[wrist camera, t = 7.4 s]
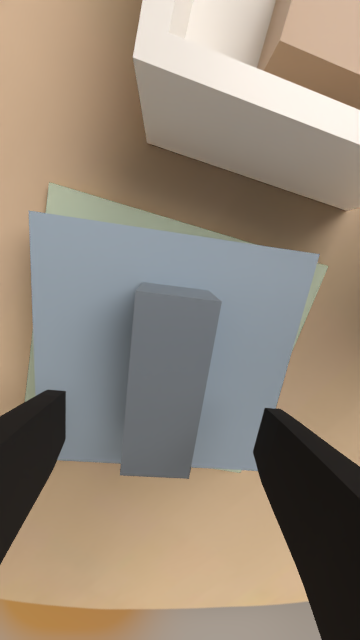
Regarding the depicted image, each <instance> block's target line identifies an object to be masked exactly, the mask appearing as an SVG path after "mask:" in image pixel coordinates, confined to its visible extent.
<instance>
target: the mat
mask: <svg viewBox="0 0 360 640" xmlns="http://www.w3.org/2000/svg"><path fill="white" fill-rule="evenodd" d="M46 213H48V214H55V215H61V216H68V217H75V218H81V219H88V220H95V221H101V222H108V223H115V224H121V225H128V226H135V227H141V228H148V229H155V230H161V231H168V232H175V233H181V234H188V235H195V236H201V237H208V238H215V239H221V240H228V241H235V242H241V243H248V244H253V243H250V242H246V241H243V240H240V239H236V238H233V237H230V236H226V235H223V234H220V233H216V232H213V231H210V230H207V229H203V228H200V227H197V226H193V225H190V224H187V223H183V222H180V221H177V220H173V219H170V218H167V217H163V216H160V215H157V214H153V213H150V212H147V211H143V210H140V209H137V208H133V207H130V206H127V205H123V204H120V203H117V202H114V201H110V200H107V199H104V198H100V197H97V196H94V195H90V194H87V193H84V192H80V191H77V190H74V189H70V188H67V187H64V186H60V185H57V184H54V183H50V182H49V187H48V196H47V205H46ZM255 245H256V244H255ZM327 268H328V266H326V265H323V264H319V263H317V265H316V269H315V272H314V276H313V279H312V283H311V286H310V290H309V293H308V297H307V300H306V304H305V307H304V311H303V314H302V318H301V321H300V325H299V328H298V332H297V335H296V339H295V342H294V346H295V344H296V341H297V339H298V337H299V334H300V332H301V330H302V327H303V325H304V323H305V320H306V318H307V315H308V313H309V311H310V308H311V306H312V304H313V301H314V299H315V297H316V294H317V292H318V290H319V287H320V285H321V283H322V280H323V278H324V276H325V273H326V271H327ZM294 346H293V348H294ZM292 351H293V349H292ZM33 397H35V370H34V342H33V332H32V341H31V350H30V359H29V368H28V377H27V386H26V395H25V402H26V401H28V400H29V399H31V398H33ZM212 469H214V468H212ZM218 470H224V471H231V472H237V473H241V471H242V470H232V469H218Z"/></svg>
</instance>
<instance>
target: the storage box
mask: <svg viewBox="0 0 360 640" xmlns="http://www.w3.org/2000/svg"><path fill="white" fill-rule="evenodd" d="M133 61H134V67H135V74H136V80H137V86H138V92H139V98H140V104H141V110H142V116H143V122H144V128H145V134H146V140H147V143H149V144H152V145H155V146H158V147H160V148H163V149H166V150H169V151H172V152H175V153H178V154H181V155H184V156H187V157H190V158H193V159H196V160H199V161H202V162H205V163H208V164H210V165H213V166H216V167H219V168H222V169H225V170H228V171H231V172H234V173H237V174H240V175H243V176H246V177H249V178H252V179H255V180H258V181H260V182H263V183H266V184H269V185H272V186H275V187H278V188H281V189H284V190H287V191H290V192H293V193H296V194H299V195H302V196H305V197H308V198H310V199H313V200H316V201H319V202H322V203H325V204H328V205H331V206H334V207H337V208H340V209H343V210H346V211H348V210H352V209H357V208H360V0H143V1H142V7H141V13H140V18H139V24H138V30H137V36H136V42H135V47H134V53H133Z"/></svg>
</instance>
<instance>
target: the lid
mask: <svg viewBox="0 0 360 640" xmlns="http://www.w3.org/2000/svg"><path fill="white" fill-rule="evenodd" d="M29 231H30V259H31V287H32V315H33V342H34V370H35V396H36V395H38V394H40V393H42V392H44V391H46V390H60V391H66V440H65V442H64V445H63V447H62V450H61V452H60V454H59V457H58V459H57V460H63V461H82V462H101V463H120V464H121V469H120V475H124V476H145V477H166V478H186V479H189V475H190V470H191V467H195V468H214V469H232V470H251V471H258V469H257V466H256V462H255V458H254V455H253V449H254V445H255V442H256V438H257V434H258V431H259V427H260V423H261V420H262V416H263V412H264V409H265V408H274V409H276V406H277V402H278V399H279V395H280V392H281V388H282V385H283V381H284V378H285V374H286V371H287V367H288V364H289V360H290V356H291V353H292V349H293V346H294V342H295V339H296V335H297V332H298V328H299V325H300V321H301V318H302V314H303V311H304V307H305V304H306V300H307V297H308V293H309V290H310V286H311V283H312V279H313V276H314V272H315V269H316V265H317V262H318V258H319V255H320V254H315V253H308V252H301V251H295V250H288V249H281V248H275V247H268V246H261V245H255V244H248V243H241V242H235V241H228V240H221V239H215V238H208V237H201V236H195V235H188V234H181V233H175V232H168V231H161V230H155V229H148V228H141V227H135V226H128V225H121V224H115V223H108V222H101V221H95V220H88V219H81V218H75V217H68V216H61V215H55V214H48V213H41V212H35V211H29Z"/></svg>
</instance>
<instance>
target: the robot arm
mask: <svg viewBox="0 0 360 640" xmlns="http://www.w3.org/2000/svg"><path fill="white" fill-rule="evenodd" d="M65 440H66V391H60V390H46V391H44V392H42V393H40V394H38V395H36V396H35V397H33V398H31V399H29V400H28V401H26V402H24V403H23V404H21V405H19V406H17V407H16V408H14V409H12V410H11V411H9V412H7V413H5V414H4V415H2V416H0V564H1V562H2V561H3V559H4V557H5V555H6V553H7V551H8V550H9V548H10V546H11V544H12V542H13V541H14V539H15V537H16V535H17V534H18V532H19V530H20V528H21V526H22V525H23V523H24V521H25V519H26V517H27V516H28V514H29V512H30V510H31V509H32V507H33V505H34V503H35V501H36V500H37V498H38V496H39V494H40V492H41V491H42V489H43V487H44V485H45V483H46V482H47V480H48V478H49V476H50V474H51V472H52V470H53V468H54V466H55V464H56V461H57V459H58V457H59V454H60V452H61V450H62V447H63V445H64V442H65ZM253 455H254V458H255V462H256V466H257V469H258V472H259V476H260V479H261V482H262V485H263V487H264V490H265V492H266V495H267V497H268V500H269V502H270V504H271V507H272V509H273V512H274V514H275V516H276V519H277V521H278V524H279V526H280V528H281V531H282V533H283V536H284V538H285V540H286V543H287V545H288V547H289V550H290V552H291V555H292V557H293V559H294V562H295V564H296V567H297V569H298V572H299V575H300V577H301V580H302V583H303V585H304V588H305V591H306V594H307V597H308V600H309V603H310V605H311V609H312V611H313V615H314V617H315V621H316V624H317V626H318V630H319V633H320V636H321V639H322V640H360V467H359V466H358V465H357V464H355V463H354V462H352V461H351V460H350V459H348V458H347V457H345V456H344V455H343V454H341V453H340V452H339V451H337V450H336V449H335V448H333V447H332V446H331V445H329V444H328V443H327V442H325V441H324V440H323V439H321V438H320V437H319V436H317V435H316V434H315V433H313V432H312V431H311V430H309V429H308V428H307V427H305V426H304V425H303V424H301V423H300V422H298V421H297V420H296V419H294V418H293V417H292V416H290V415H289V414H287V413H286V412H284V411H283V410H281V409H274V408H265V409H264V412H263V416H262V420H261V423H260V427H259V431H258V434H257V438H256V442H255V445H254V449H253Z"/></svg>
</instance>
